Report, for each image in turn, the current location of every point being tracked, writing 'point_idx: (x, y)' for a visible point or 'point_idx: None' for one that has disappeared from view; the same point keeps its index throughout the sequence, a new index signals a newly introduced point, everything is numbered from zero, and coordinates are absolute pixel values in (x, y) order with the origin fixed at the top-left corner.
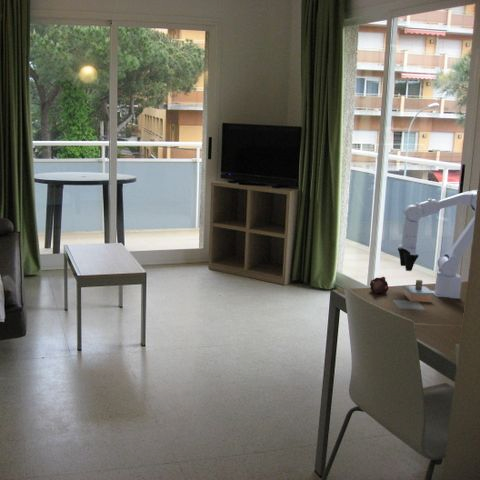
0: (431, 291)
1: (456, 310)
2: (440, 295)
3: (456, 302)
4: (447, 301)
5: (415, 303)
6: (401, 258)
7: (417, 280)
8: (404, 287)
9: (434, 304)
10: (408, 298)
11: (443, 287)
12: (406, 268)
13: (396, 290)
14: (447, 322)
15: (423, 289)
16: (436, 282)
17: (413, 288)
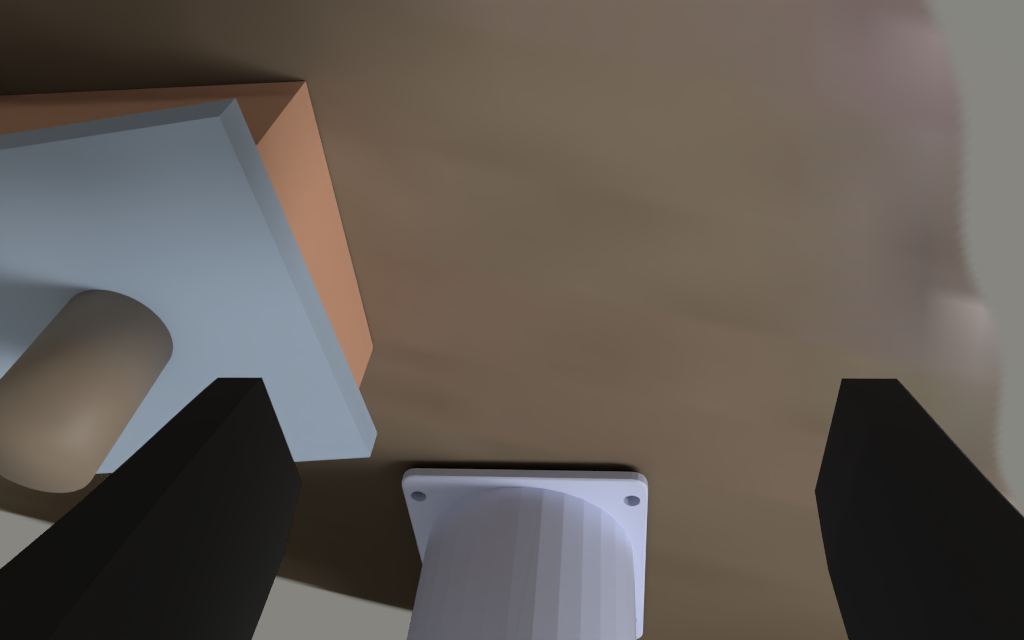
0: (107, 466)
1: (28, 504)
2: (441, 514)
3: (313, 568)
4: (309, 514)
5: None
6: (952, 607)
7: (5, 422)
8: (148, 121)
9: None
10: (65, 104)
11: (414, 619)
12: (168, 430)
13: (642, 3)
14: None
15: (149, 398)
16: (505, 619)
17: (114, 268)
